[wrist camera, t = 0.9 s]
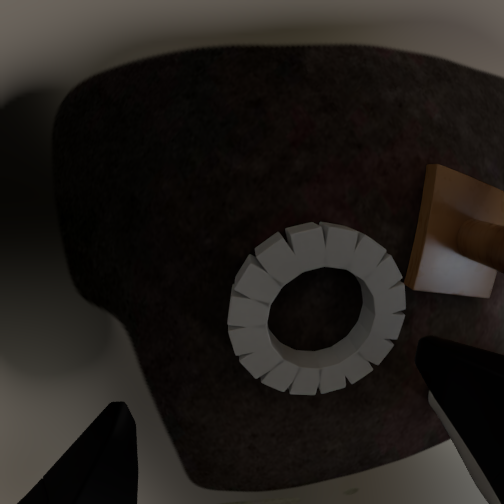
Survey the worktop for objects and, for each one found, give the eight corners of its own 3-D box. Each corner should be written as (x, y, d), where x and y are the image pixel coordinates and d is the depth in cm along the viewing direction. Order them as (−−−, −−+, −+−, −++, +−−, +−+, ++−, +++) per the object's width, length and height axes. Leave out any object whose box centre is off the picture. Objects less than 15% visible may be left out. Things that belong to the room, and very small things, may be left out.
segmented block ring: (407, 238, 20) (424, 244, 18) (365, 378, 22) (375, 395, 20) (243, 209, 19) (243, 212, 17) (220, 368, 22) (218, 387, 19)
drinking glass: (436, 417, 24) (501, 512, 10) (407, 396, 23) (485, 513, 9) (480, 371, 23) (562, 452, 9) (458, 342, 22) (561, 437, 8)
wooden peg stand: (500, 193, 19) (572, 204, 11) (479, 293, 21) (543, 330, 13) (426, 164, 19) (508, 161, 11) (403, 283, 21) (471, 332, 12)
